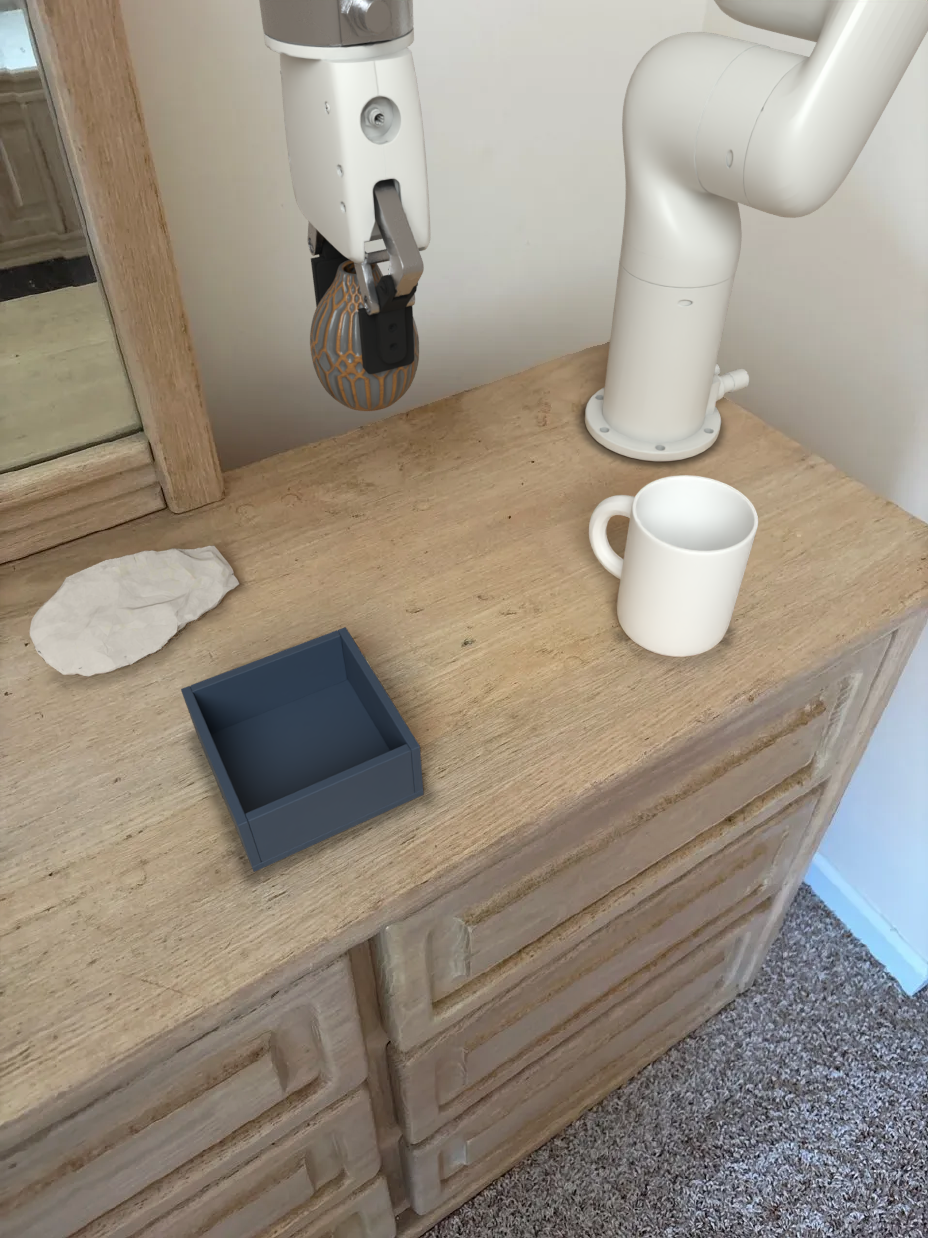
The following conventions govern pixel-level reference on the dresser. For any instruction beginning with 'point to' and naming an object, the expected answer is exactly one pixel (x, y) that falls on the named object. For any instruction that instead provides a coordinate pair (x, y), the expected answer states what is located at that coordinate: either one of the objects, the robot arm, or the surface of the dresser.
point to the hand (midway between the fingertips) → (364, 337)
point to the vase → (352, 348)
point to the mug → (677, 561)
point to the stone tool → (127, 608)
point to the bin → (304, 745)
